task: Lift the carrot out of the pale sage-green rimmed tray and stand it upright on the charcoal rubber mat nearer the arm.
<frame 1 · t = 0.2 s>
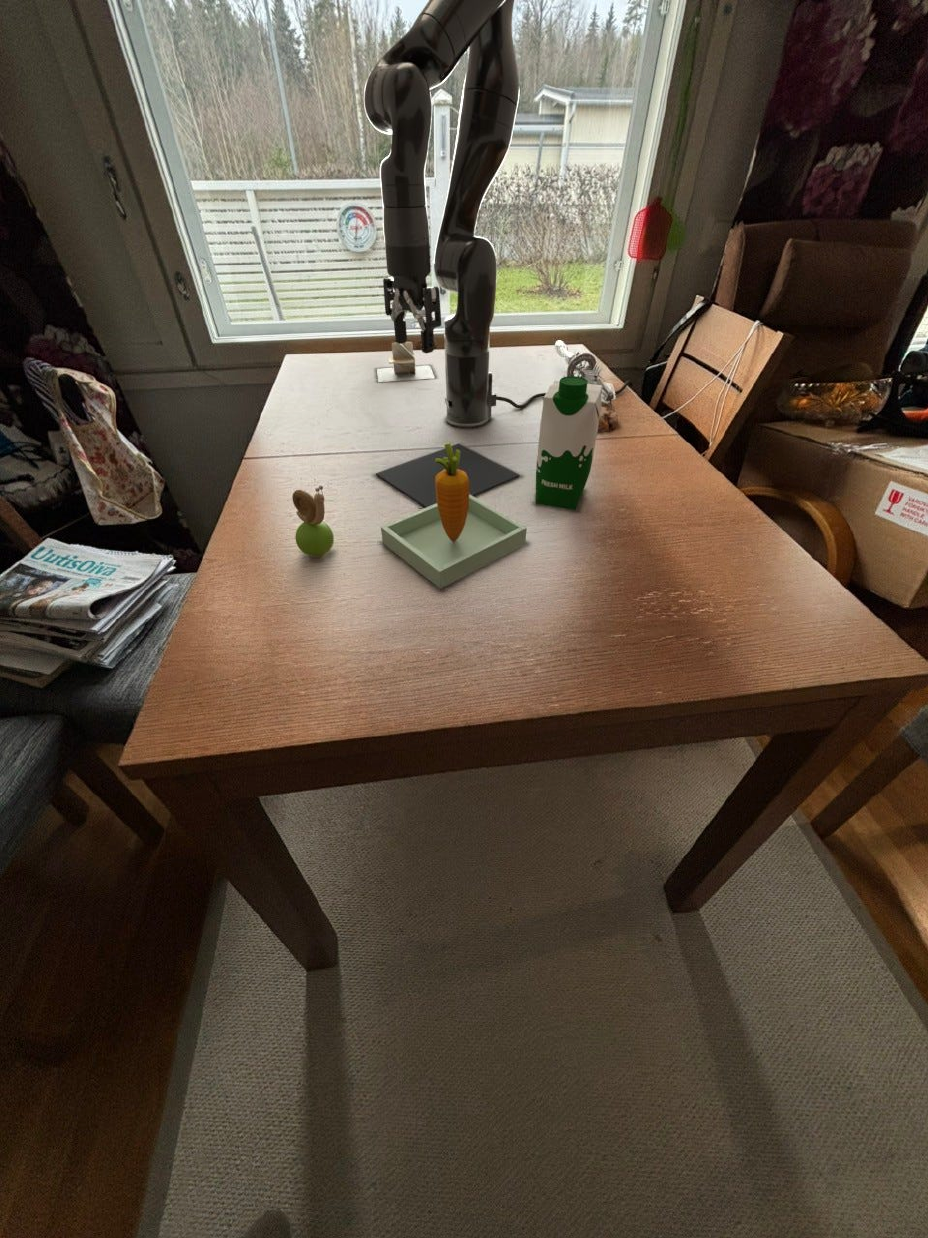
hand: (414, 347, 95), 17 cm above the table, tool pointing down, fingers open, 8 cm apart
architectural model: (405, 374, 137), on the table
carrot: (453, 542, 77), resting in tray
milk carton: (559, 498, 88), on the table
mat: (447, 476, 94), on the table
spaceship: (578, 386, 129), on the table
snail figurine: (321, 555, 76), on the table
cookie: (594, 424, 111), on the table
tray: (453, 543, 78), on the table
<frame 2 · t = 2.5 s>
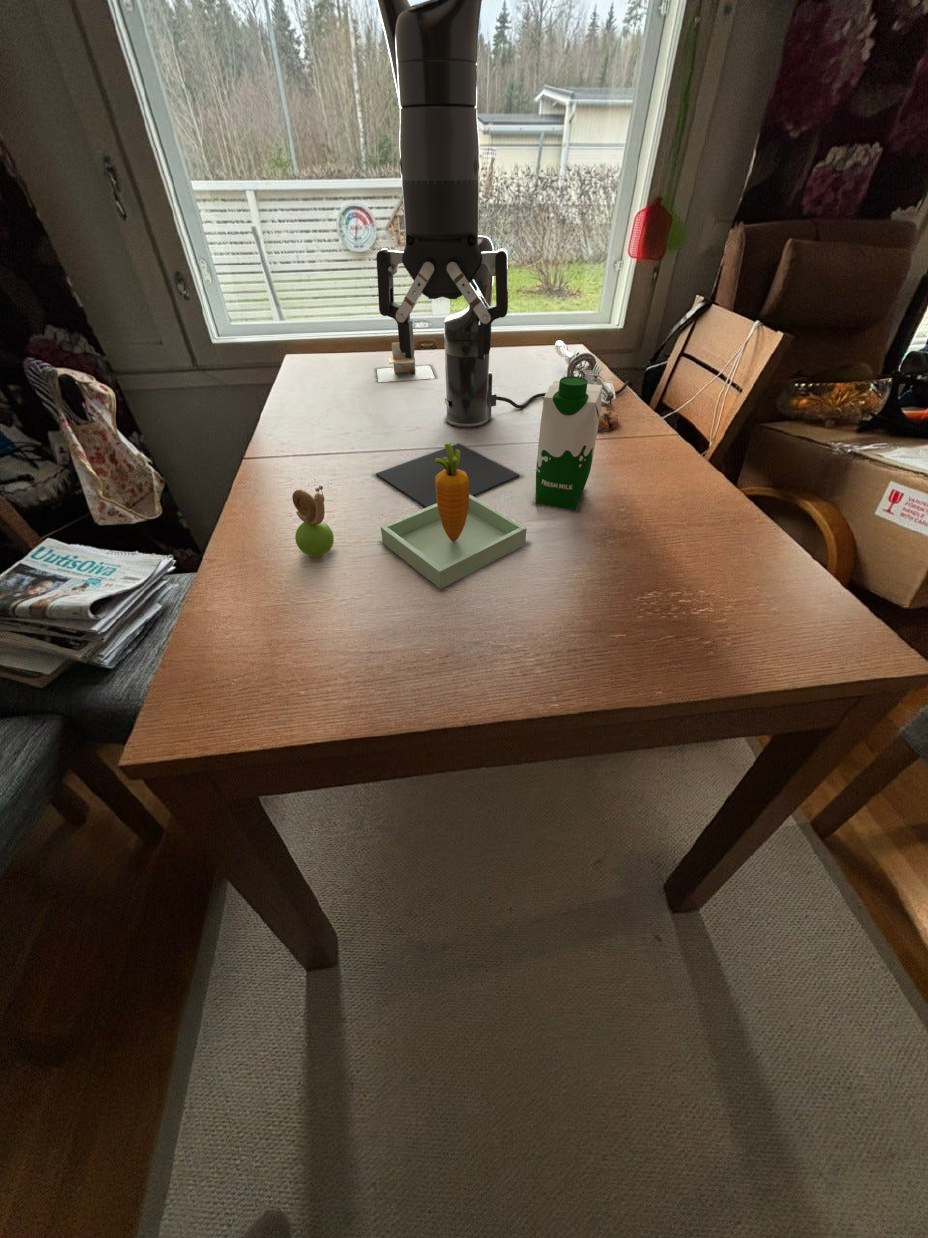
hand: (445, 357, 60), 27 cm above the table, tool pointing down, fingers open, 8 cm apart
nothing on the table moved.
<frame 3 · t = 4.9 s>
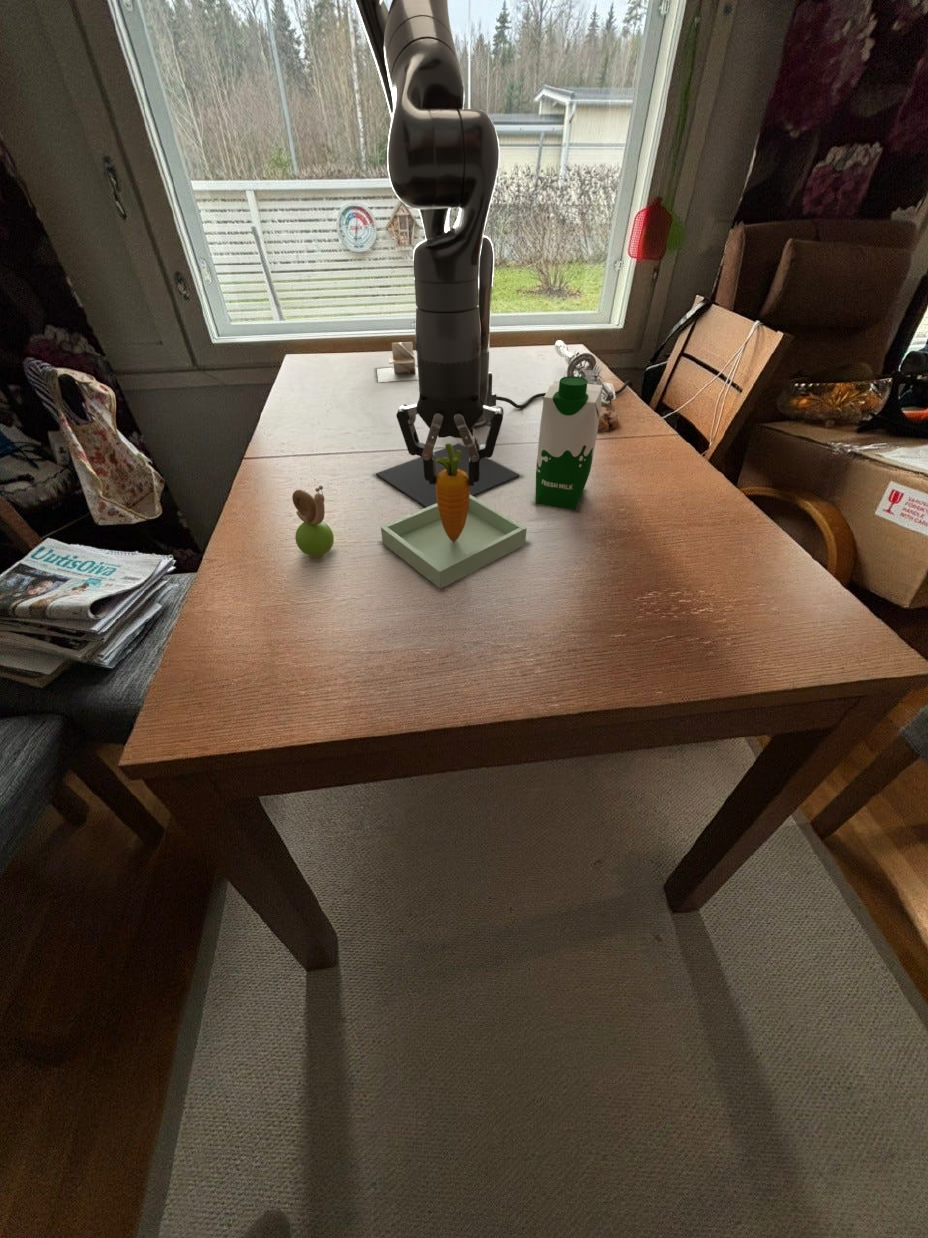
hand: (452, 482, 71), 10 cm above the table, tool pointing down, fingers closed on carrot, 5 cm apart
carrot: (453, 542, 77), resting in tray, touching gripper
everything else where it was.
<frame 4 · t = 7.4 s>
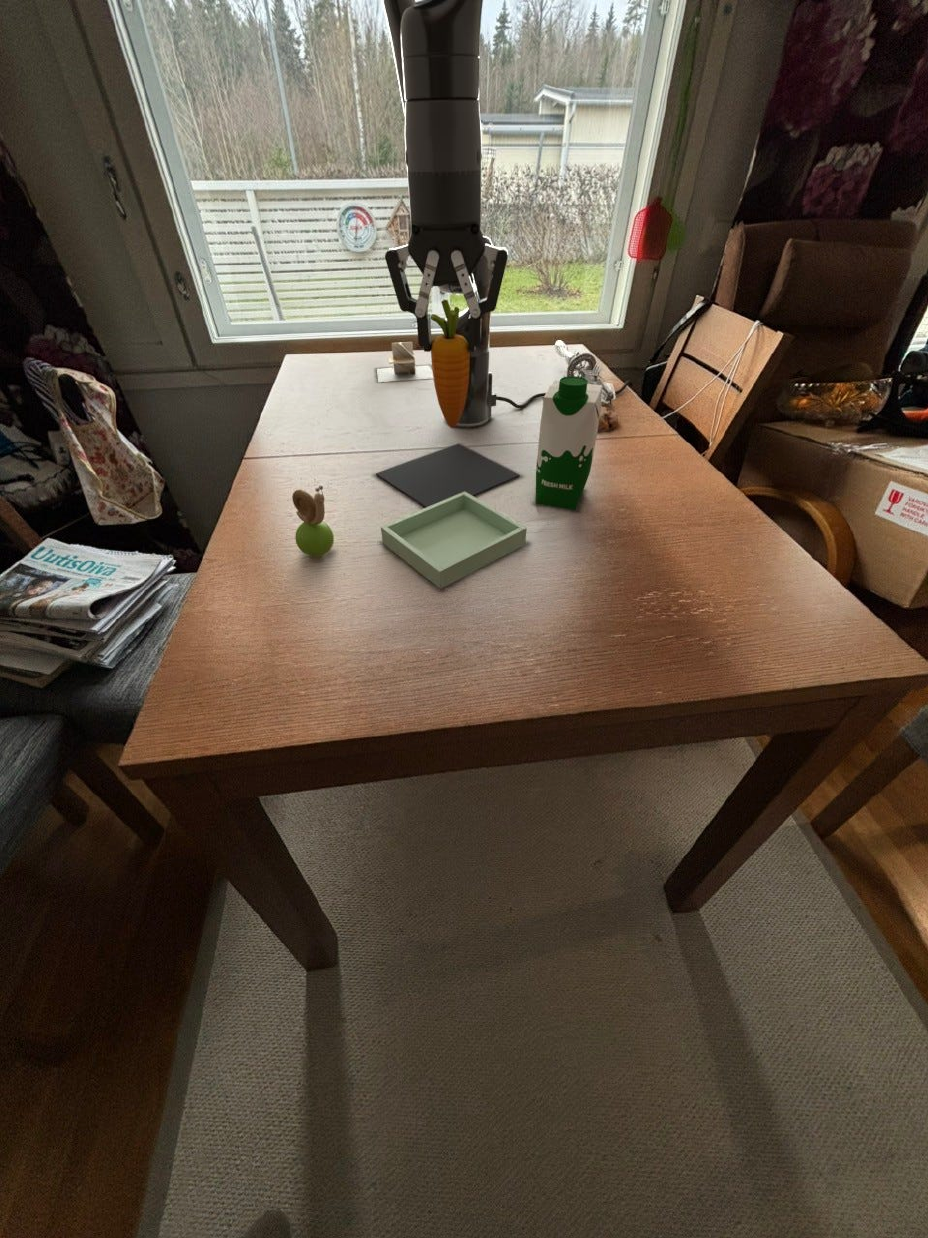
hand: (449, 349, 62), 26 cm above the table, tool pointing down, fingers closed on carrot, 5 cm apart
carrot: (452, 429, 69), point 16 cm above the table, touching gripper
everything else where it was.
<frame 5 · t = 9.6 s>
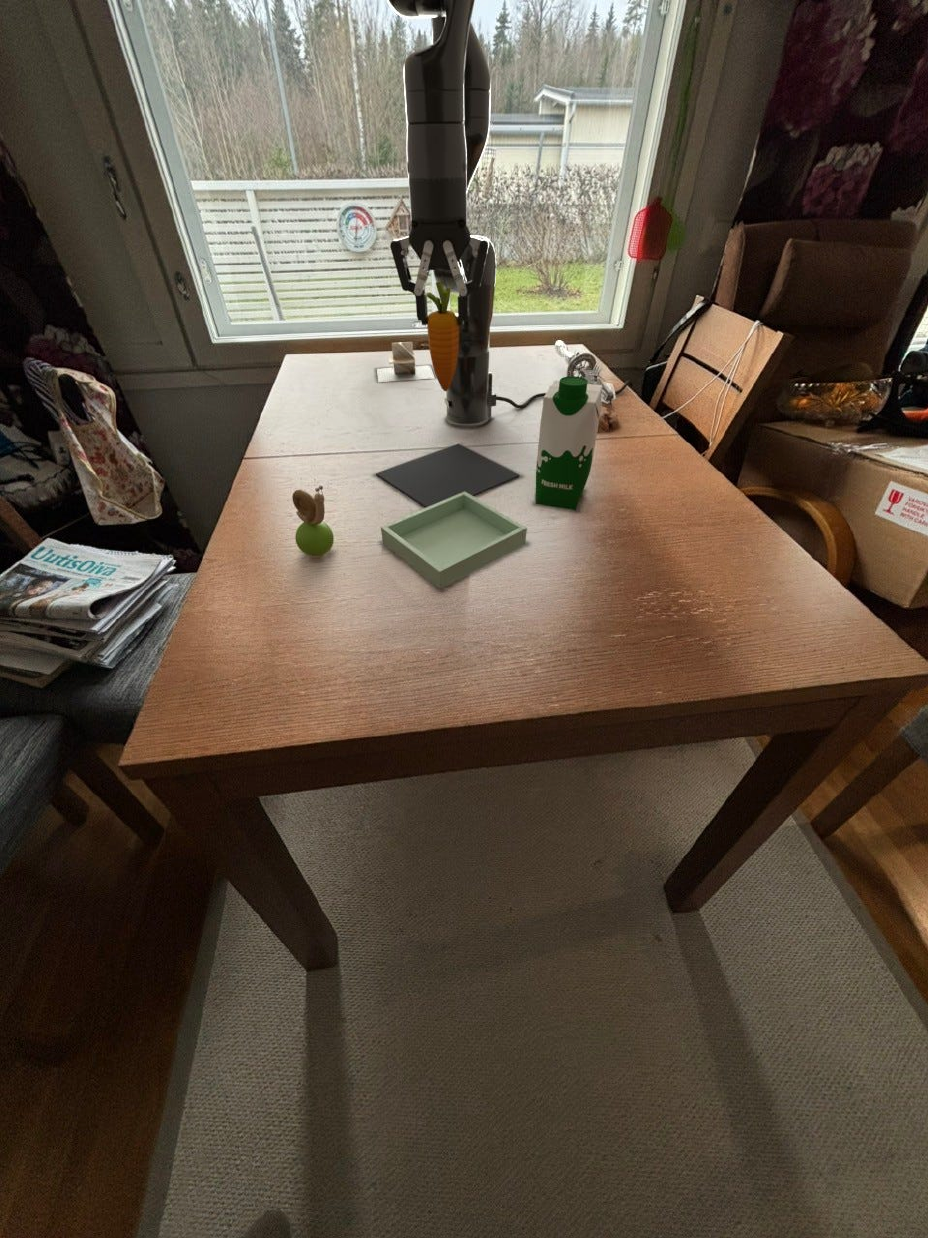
hand: (442, 323, 76), 25 cm above the table, tool pointing down, fingers closed on carrot, 5 cm apart
carrot: (445, 392, 83), point 15 cm above the table, touching gripper
everything else where it was.
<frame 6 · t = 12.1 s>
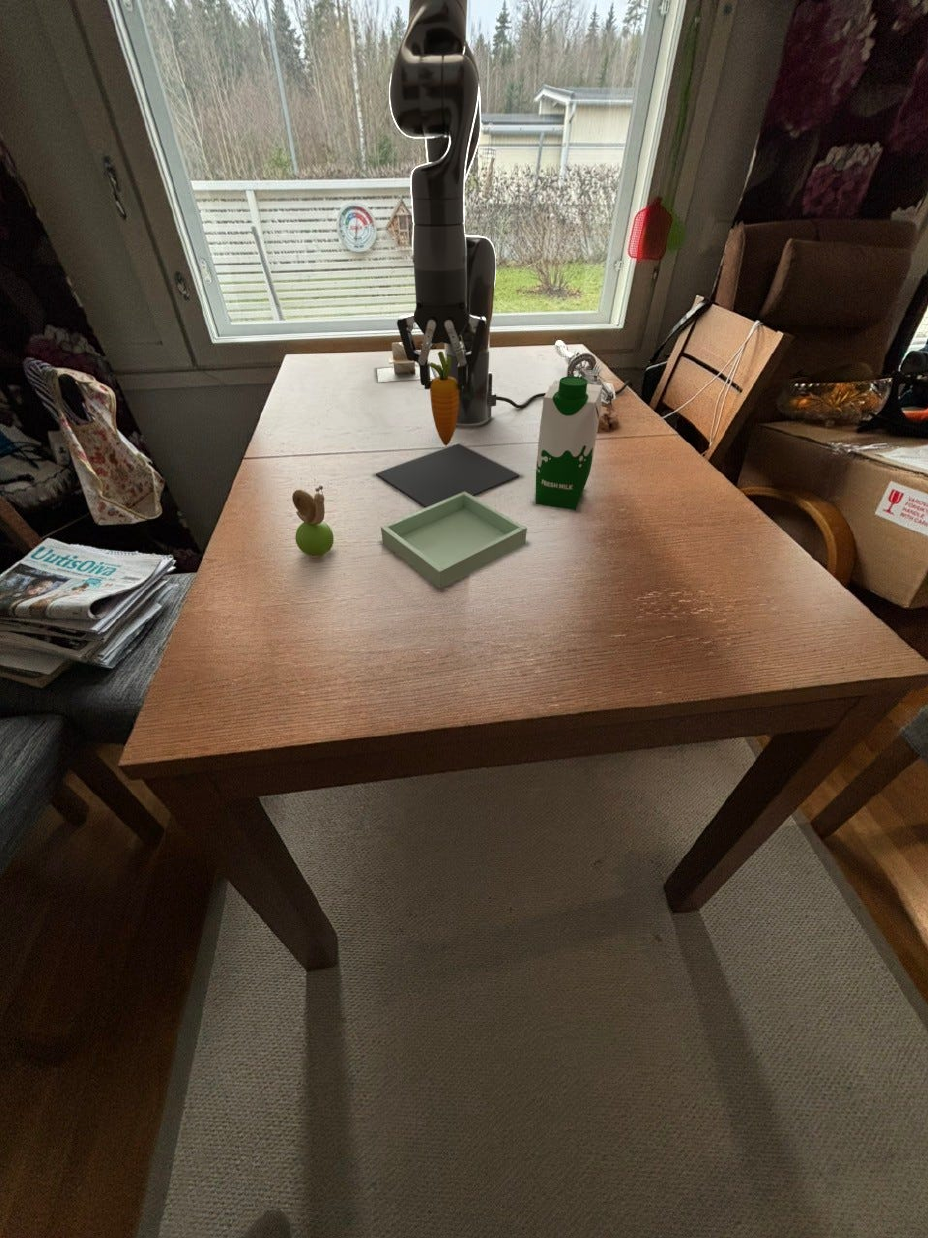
hand: (444, 387, 83), 16 cm above the table, tool pointing down, fingers closed on carrot, 5 cm apart
carrot: (446, 446, 90), point 6 cm above the table, touching gripper
everything else where it was.
when the fingers open (10 cm above the table, at t = 14.2 s): carrot stays where it is, resting on mat.
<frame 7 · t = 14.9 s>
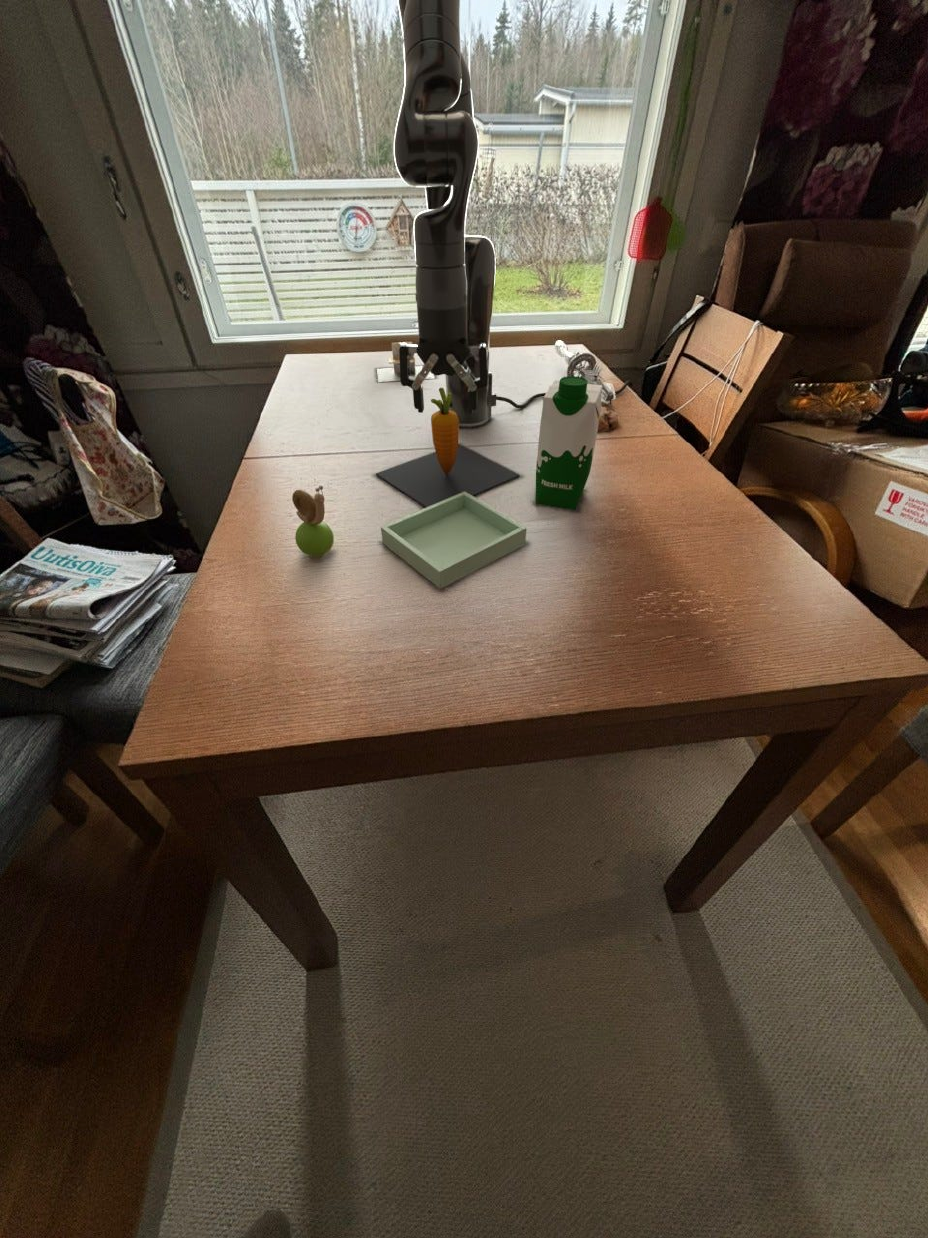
hand: (445, 411, 86), 12 cm above the table, tool pointing down, fingers open, 8 cm apart
carrot: (446, 474, 94), resting on mat
everything else where it was.
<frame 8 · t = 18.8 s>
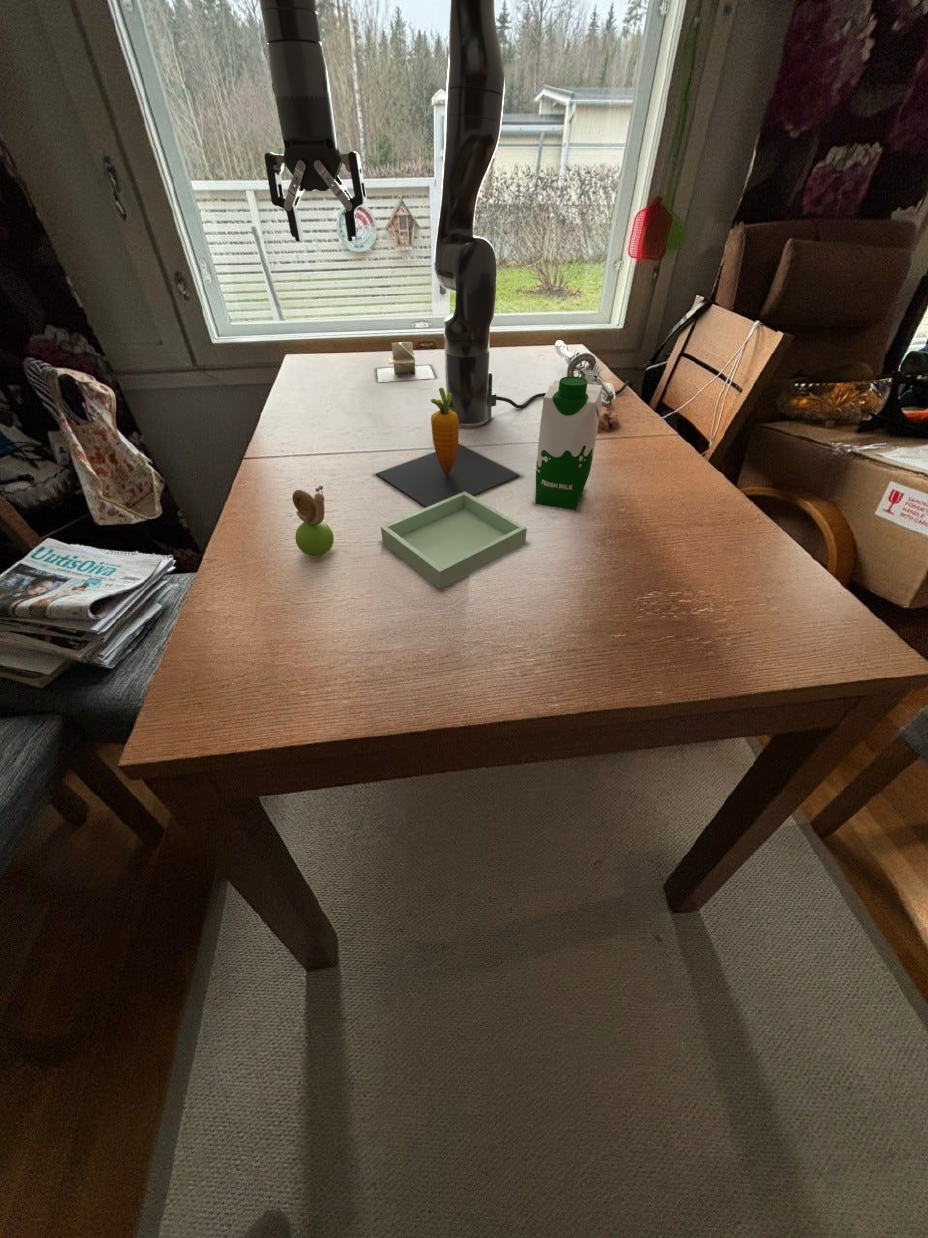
hand: (325, 240, 80), 34 cm above the table, tool pointing down, fingers open, 8 cm apart
nothing on the table moved.
at the end: carrot inside the target area on the mat (0.1 cm from its centre), point 0.2 cm above the mat's base; carrot tilted 0°; carrot touching mat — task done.
